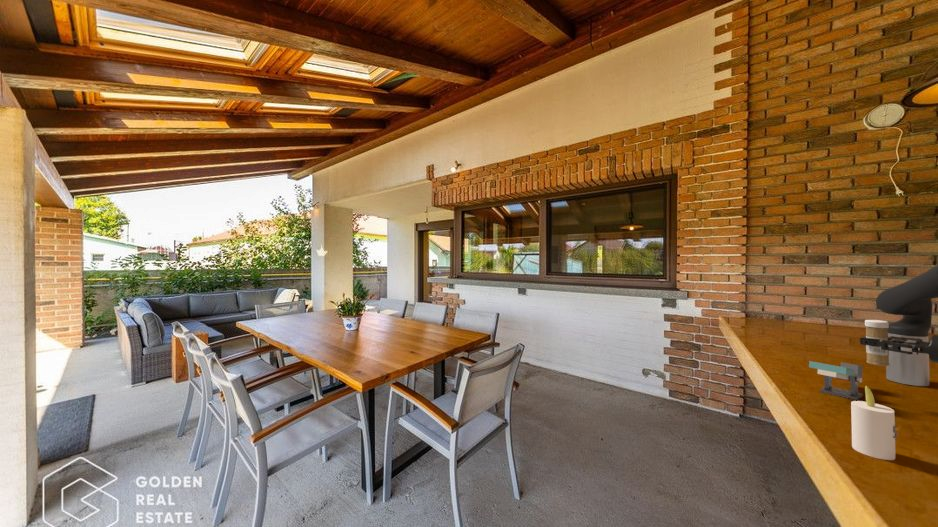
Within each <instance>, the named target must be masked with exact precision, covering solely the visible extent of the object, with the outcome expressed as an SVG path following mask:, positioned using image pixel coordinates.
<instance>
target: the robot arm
mask: <svg viewBox="0 0 938 527" xmlns="http://www.w3.org/2000/svg"><path fill="white" fill-rule="evenodd" d="M876 297H877V298H876V299H875V304H876V308H878V310H879V311H881V312H883V313H885V314H888V315H895V316H903V317H902V318H901V319H900V320H897V321H894V322H889V323H888V324H889V328H888V340H884V339H872V338H866V335H865V336H864V337H863V336H862V337H860V339H859V344H860V345H863V346H866V345H868V346H875V347H879V348H881V349H883V350H889V364H890V365H889V366H885V374H886V376H885V378H886V379H887V380H888V381H891V382H895V383H898V384H903V385H910V386H915V387H916V386H917V387H929V386H930V362H932V363H936V364H938V335H931V336H930V337H929V332H930V330H931V328H932V319H933V318H932V317H933V300H934V299H938V264H937V265H935V266H932V267H931V268H930V269H928V270H926V271H925V272H923V273H921V274H919V275H916V276H915V277H913V278H910V279H908V280H907V281H905V282H903V283H900V284H897V285H895V286H893V287H889V288H887V289H885V290H883V291H881V292H880V293H879V294H878V295H877V296H876ZM932 299H933V300H932ZM888 344H889V347H888Z"/></svg>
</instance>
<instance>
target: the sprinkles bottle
mask: <svg viewBox="0 0 938 527" xmlns="http://www.w3.org/2000/svg"><path fill="white" fill-rule="evenodd" d="M889 324H890V323H889V322H888V321H887V320H880V319H865V320H864V326H865V336H866V338H872V339H884V340H888V328H889ZM888 347H889V344H888ZM865 353H866V361H865V362H866V363H867V364H870V365H873V366H878V367H886V366H889V365H890V364H889V350H883V349H881V348H879V347H875V346H868V345H865Z"/></svg>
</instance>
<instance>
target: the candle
mask: <svg viewBox="0 0 938 527" xmlns="http://www.w3.org/2000/svg"><path fill="white" fill-rule="evenodd" d="M864 386H865V387H864V393H865V401H863V400H857V401H856V400H853V401H851V402H850V412H851V414H850V416H851V447H852V449H853V450H855V451H856V452H858V453H860V454H863V455H865V456H868V457H871V458H873V459H874V458H875V459H878V460H879V459H880V460H884V461H895V460H896V439H897V437H898V431H897V430H896V428H898V425H895V424H896V421H895V420H896V419H895V410H894V409H892V408H891V407H888V406H886V405H883V404H879V403H876V402H875V397H874V393H873V392H872V390H871V389H870V388H869V386H868V385H864Z"/></svg>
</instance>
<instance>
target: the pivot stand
mask: <svg viewBox="0 0 938 527" xmlns="http://www.w3.org/2000/svg"><path fill="white" fill-rule="evenodd" d="M823 380H824V382H823V383H824V386H823V387H821V388H820V390H819V391H820V393H823V394H828V395H831V394H832V395H831V396H835V395H836V397H840V396H841V397H840V398H844V397H846V398H845V399H848V398H850V399H849V400H852V399H854V400H853V401H856V400H857V401H859V398H860V399H861V398H863V397H862V396H864V395H863V393H861V392H859V383H861V382H860V377H858V374H857V373H855V375H854V376H850V381H849V387H850V389H844V388H840V387H836V386H833V377H831V376H826V375H823Z"/></svg>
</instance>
